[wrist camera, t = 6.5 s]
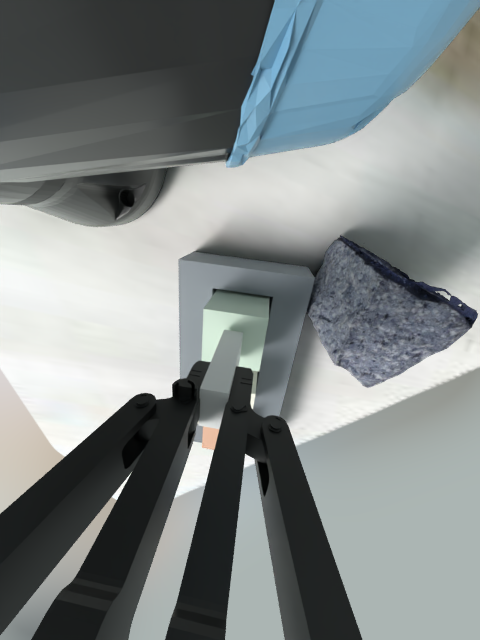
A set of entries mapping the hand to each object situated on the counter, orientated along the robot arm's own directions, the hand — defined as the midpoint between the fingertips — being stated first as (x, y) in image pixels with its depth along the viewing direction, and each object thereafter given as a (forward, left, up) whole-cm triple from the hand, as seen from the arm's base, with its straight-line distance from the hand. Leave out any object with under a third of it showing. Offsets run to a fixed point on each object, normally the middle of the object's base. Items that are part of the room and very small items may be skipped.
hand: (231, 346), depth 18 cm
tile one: (0, 0, -5) cm, 5 cm away
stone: (-3, +10, -9) cm, 14 cm away
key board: (+7, 0, -9) cm, 11 cm away
